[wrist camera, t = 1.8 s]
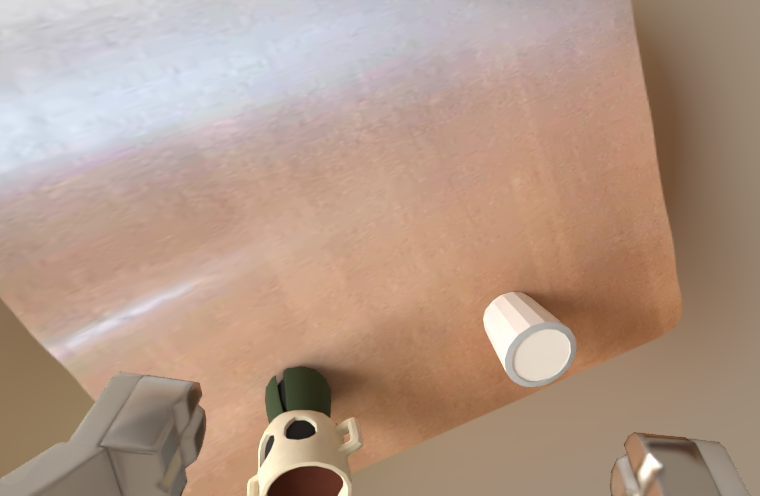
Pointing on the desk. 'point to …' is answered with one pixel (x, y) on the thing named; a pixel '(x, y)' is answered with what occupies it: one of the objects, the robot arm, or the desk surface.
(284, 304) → the desk surface
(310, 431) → the character mug
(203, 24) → the desk surface
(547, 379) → the white tapered cup
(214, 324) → the desk surface
